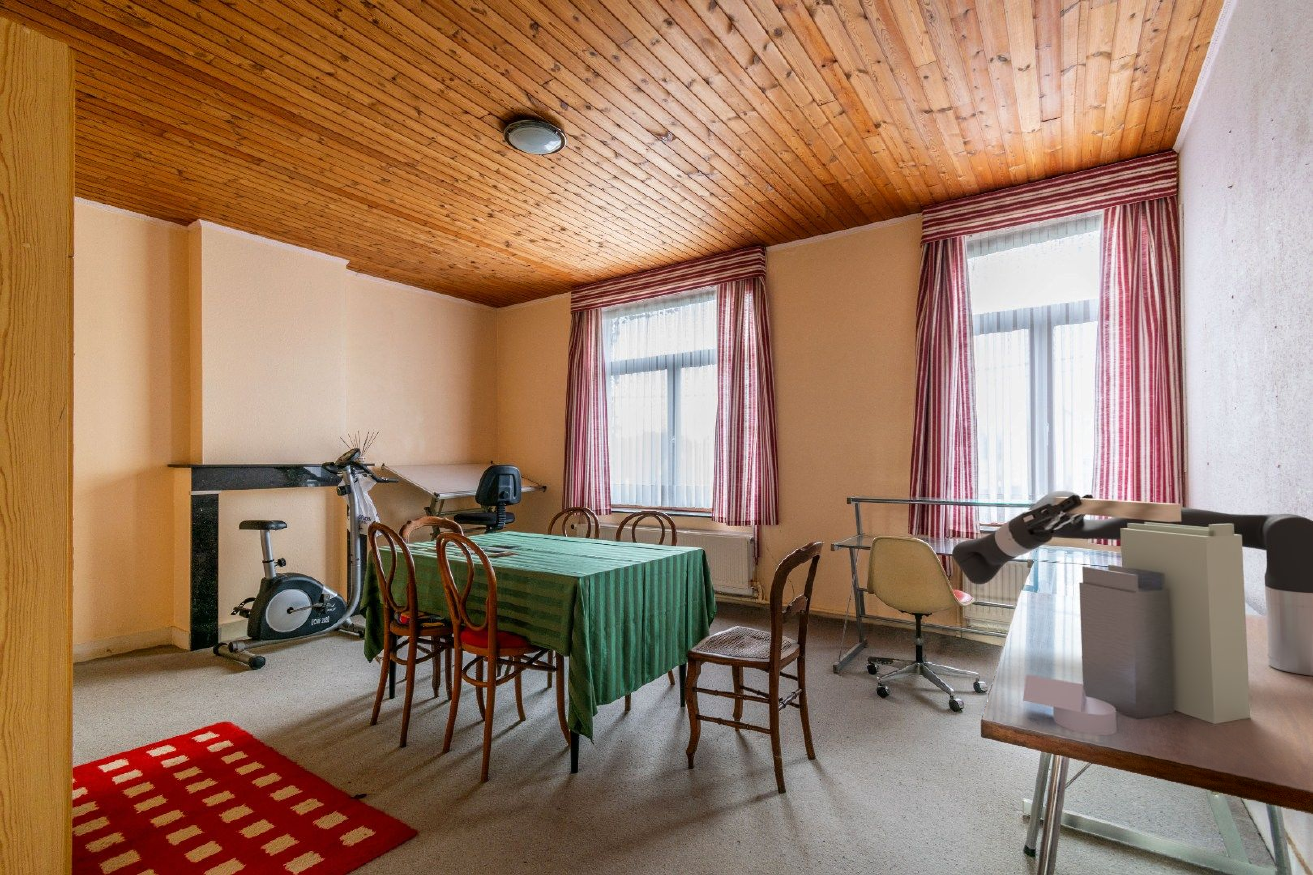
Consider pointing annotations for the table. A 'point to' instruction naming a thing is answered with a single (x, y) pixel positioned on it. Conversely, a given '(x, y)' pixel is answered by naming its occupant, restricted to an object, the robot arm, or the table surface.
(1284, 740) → the table surface
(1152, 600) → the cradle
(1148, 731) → the table surface
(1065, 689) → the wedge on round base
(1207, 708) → the pale green tall block
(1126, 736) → the table surface
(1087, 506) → the rail
